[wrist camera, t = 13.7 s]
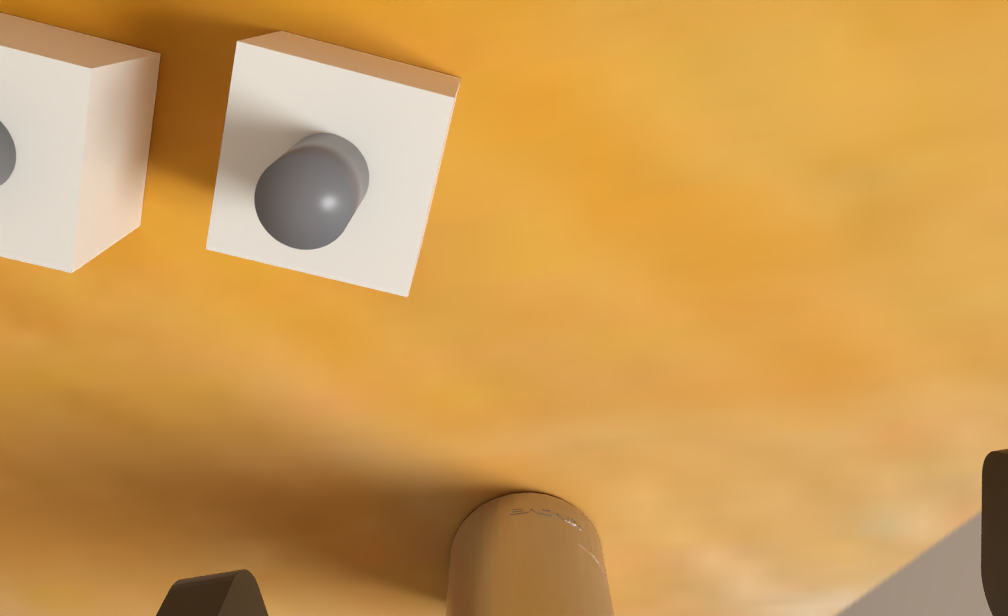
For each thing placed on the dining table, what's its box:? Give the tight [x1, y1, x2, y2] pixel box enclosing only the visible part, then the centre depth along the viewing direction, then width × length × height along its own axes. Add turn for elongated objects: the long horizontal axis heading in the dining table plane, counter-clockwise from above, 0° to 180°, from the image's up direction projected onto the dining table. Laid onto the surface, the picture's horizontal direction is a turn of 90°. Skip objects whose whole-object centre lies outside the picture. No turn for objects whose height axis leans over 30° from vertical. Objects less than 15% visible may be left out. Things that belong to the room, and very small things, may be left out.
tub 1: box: [206, 31, 461, 297], centre depth 39 cm, size 9×9×13 cm
